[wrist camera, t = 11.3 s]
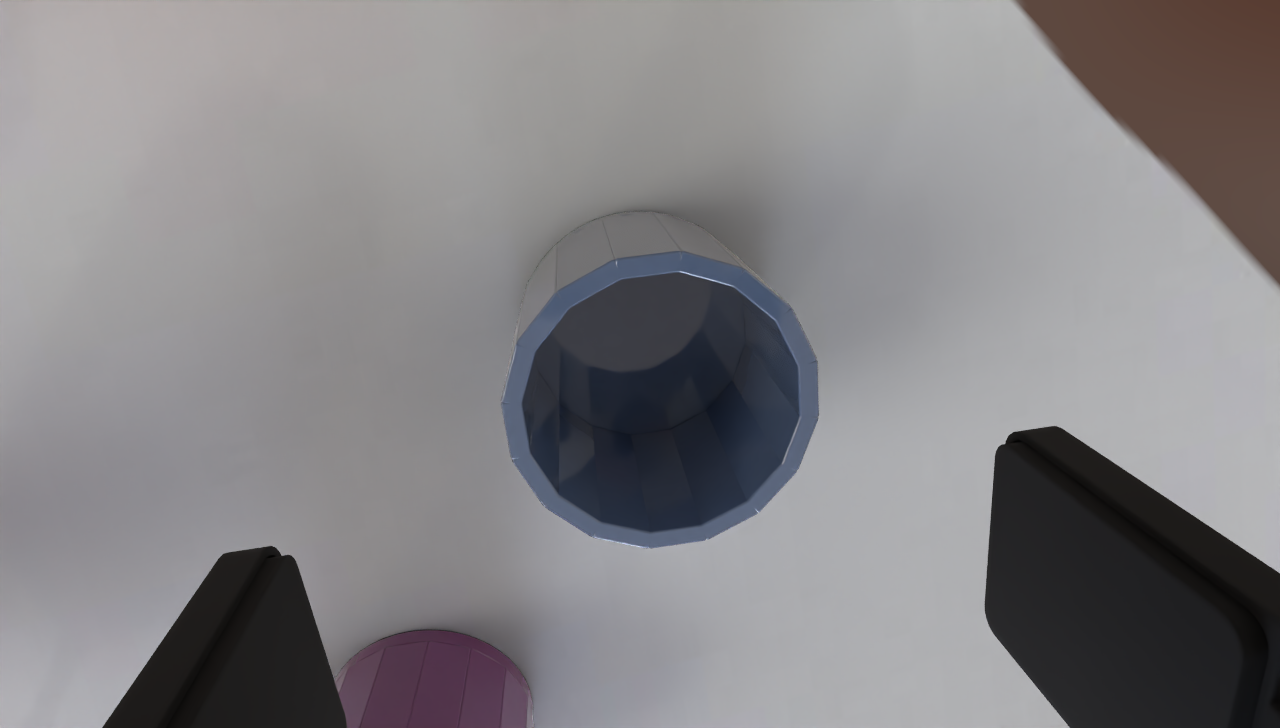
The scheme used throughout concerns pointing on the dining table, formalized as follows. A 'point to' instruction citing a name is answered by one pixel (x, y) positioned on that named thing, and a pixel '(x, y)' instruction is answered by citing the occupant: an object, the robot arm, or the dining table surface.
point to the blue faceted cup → (655, 383)
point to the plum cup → (433, 684)
